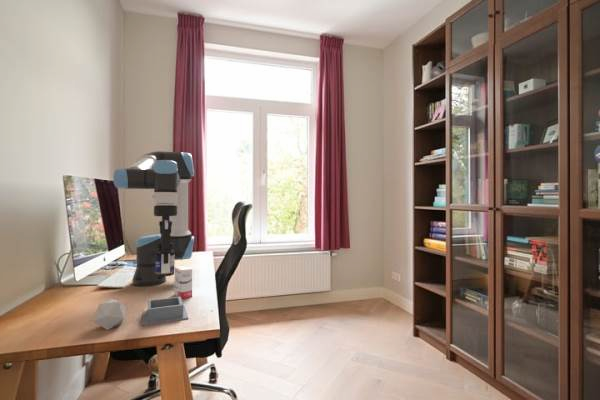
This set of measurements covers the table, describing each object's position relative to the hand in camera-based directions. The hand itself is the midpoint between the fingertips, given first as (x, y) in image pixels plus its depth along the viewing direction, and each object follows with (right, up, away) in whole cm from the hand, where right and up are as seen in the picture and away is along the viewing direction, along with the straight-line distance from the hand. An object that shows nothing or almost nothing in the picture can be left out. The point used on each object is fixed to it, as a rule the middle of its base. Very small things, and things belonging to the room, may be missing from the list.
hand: (165, 271), depth 111 cm
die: (-13, -16, -10) cm, 23 cm away
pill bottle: (0, -2, 0) cm, 2 cm away
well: (0, -16, 0) cm, 16 cm away
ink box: (-3, -16, +24) cm, 29 cm away
